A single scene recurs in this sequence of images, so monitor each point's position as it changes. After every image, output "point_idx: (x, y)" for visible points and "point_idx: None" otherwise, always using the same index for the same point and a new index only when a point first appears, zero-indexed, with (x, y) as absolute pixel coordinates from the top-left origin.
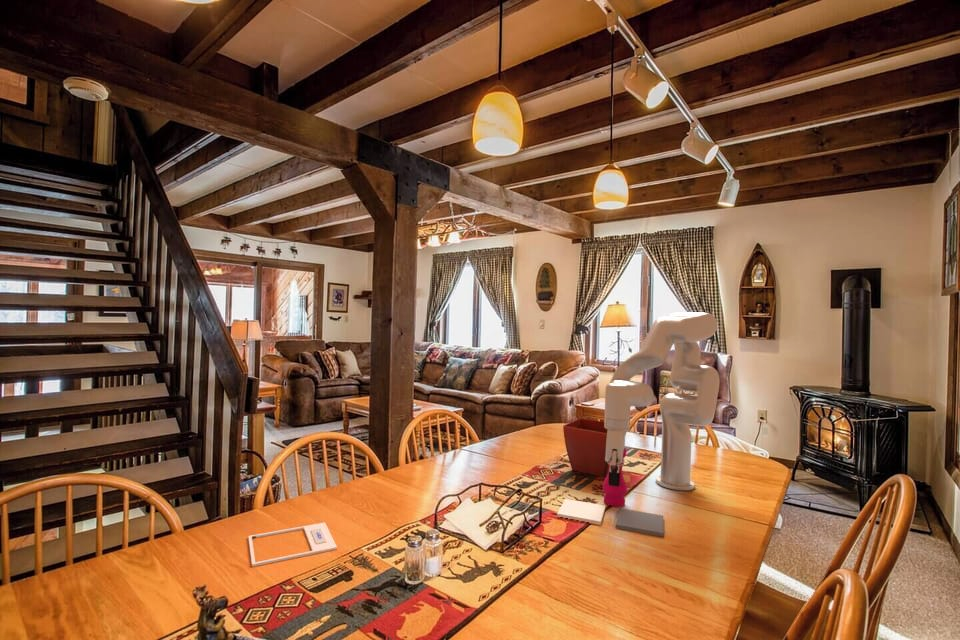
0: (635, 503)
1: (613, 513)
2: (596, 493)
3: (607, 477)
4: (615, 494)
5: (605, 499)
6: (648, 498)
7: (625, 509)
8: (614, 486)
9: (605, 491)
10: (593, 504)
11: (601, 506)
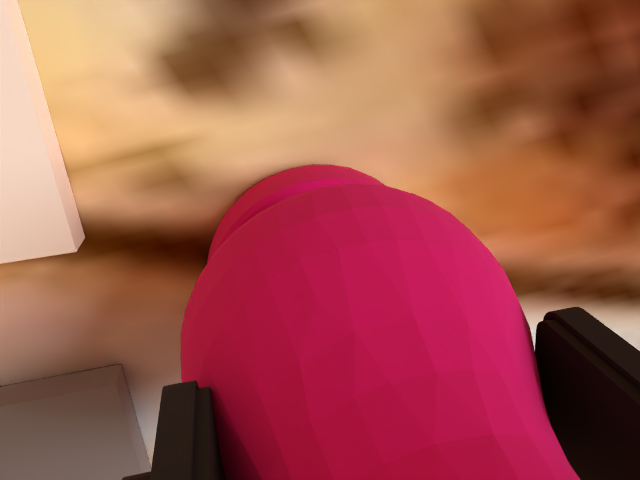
0: None
1: (27, 333)
2: (507, 23)
3: (309, 374)
4: None
5: (240, 212)
6: None
7: (117, 436)
8: None
9: (210, 259)
10: (2, 114)
11: (14, 219)
